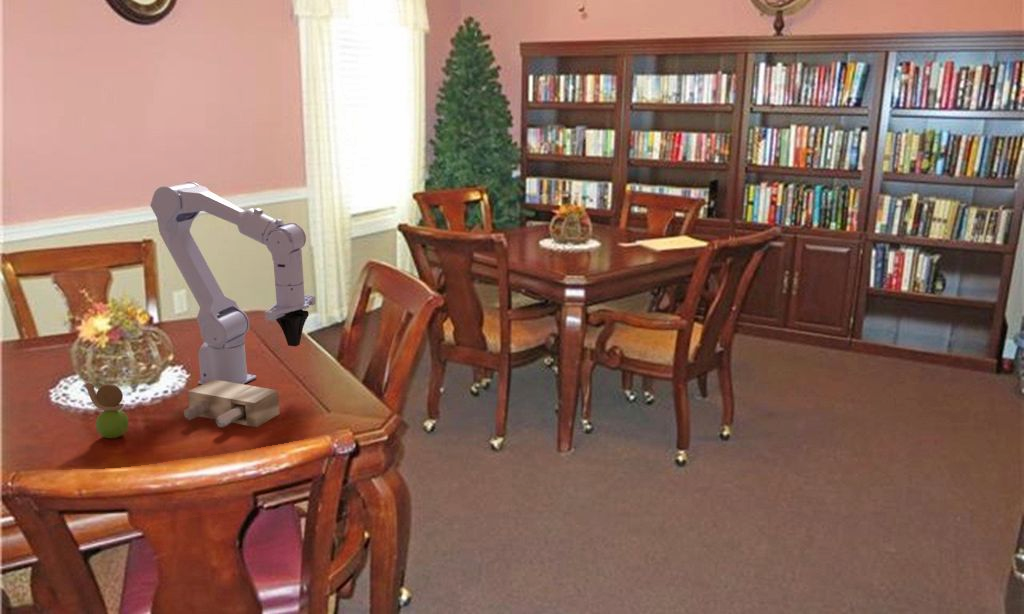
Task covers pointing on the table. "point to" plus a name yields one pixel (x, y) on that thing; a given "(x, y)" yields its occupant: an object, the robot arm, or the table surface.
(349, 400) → the table surface
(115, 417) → the snail figurine
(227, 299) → the robot arm
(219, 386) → the beige block with pegs
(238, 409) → the lynch pin
